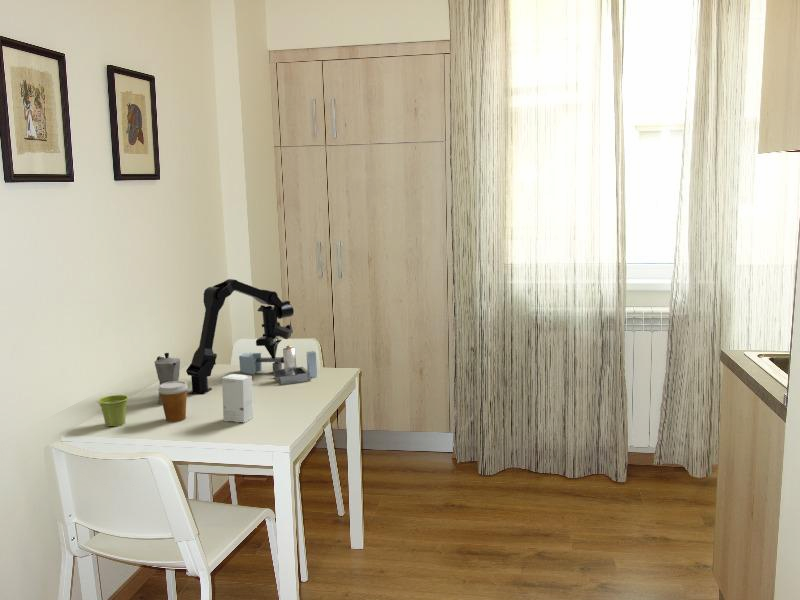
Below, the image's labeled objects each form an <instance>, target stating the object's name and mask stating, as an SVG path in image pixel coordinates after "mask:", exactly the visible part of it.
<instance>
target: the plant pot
mask: <svg viewBox="0 0 800 600" xmlns="http://www.w3.org/2000/svg"><path fill="white" fill-rule="evenodd" d="M128 401H129V396H128V395H124V394H116V395H115V394H114V395H107V396H104V397H101V398H99V399H98V400H97V403H98V404H99V407H101V411H102V415H103V419H104V420H103V421H104V424H105V426H106V425H107V426H106V427H109V426H111V427H119V426H118V425H120V426H123V425H124V424H125V423H126V417H127V415H126V414H127V404H128ZM122 424H123V425H122Z"/></svg>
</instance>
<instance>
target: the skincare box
mask: <svg viewBox="0 0 800 600" xmlns="http://www.w3.org/2000/svg"><path fill="white" fill-rule="evenodd" d="M221 384H222V387H221V388H222V414H223V415H222V416H223V419H222V420H223V422H228V421H235V422H234V423H239V422H243V423H242V424H244V422H245V423H247V422H248V420H249V421H251V420H252V419H254V413H253V412H254V407H253V405H254V404H253V403H254V401H253V376H252V375H248V374H239V373H237V374H235V373H229V374H228V375H225V376H223V377H222V383H221ZM250 419H251V420H250ZM246 421H247V422H246Z"/></svg>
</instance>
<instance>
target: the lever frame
mask: <svg viewBox="0 0 800 600" xmlns="http://www.w3.org/2000/svg"><path fill="white" fill-rule="evenodd" d="M238 358H239V370H240V371H239V373H240V372H244V373H252V374H251V375H256V374H257V371H263V365H262V363H263V362H256V359H257V358H262V352H249V353H248V352H247V353H246V352H245V353H242V354H241V355H239V356H238ZM281 369H283V363H281V362H272V374H273V375H274V370H281ZM244 373H243V374H244ZM255 373H256V374H255Z"/></svg>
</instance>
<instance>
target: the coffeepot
mask: <svg viewBox="0 0 800 600" xmlns="http://www.w3.org/2000/svg"><path fill="white" fill-rule="evenodd" d="M154 367H155V369H156V375H157V378H158V383H159V385H158V387H159V386H160V385H161V384H163V383H166V382H172V381H180V367H181V359H180V358H177V357H169V352H165V353H164V357H163V356H157V357H156V360H155V361H154ZM157 401H158V404H159V405H163V404H162V400H161V395H160V393H159V392H158V399H157Z"/></svg>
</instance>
